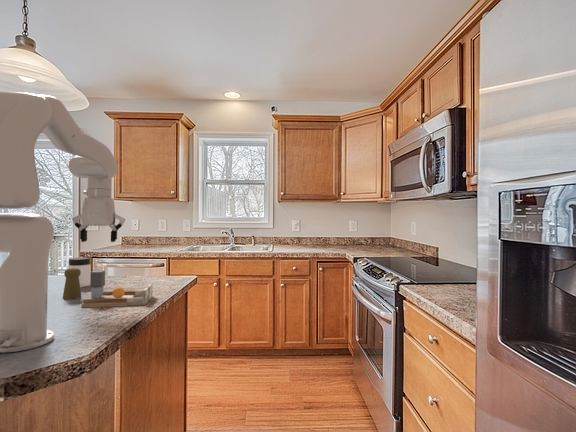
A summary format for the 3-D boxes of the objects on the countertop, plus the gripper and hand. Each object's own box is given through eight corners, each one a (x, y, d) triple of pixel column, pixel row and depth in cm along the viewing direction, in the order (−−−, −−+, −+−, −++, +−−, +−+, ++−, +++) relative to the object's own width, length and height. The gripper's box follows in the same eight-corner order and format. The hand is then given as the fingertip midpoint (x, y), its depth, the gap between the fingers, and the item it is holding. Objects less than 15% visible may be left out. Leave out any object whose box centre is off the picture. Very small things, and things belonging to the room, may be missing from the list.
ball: (122, 299, 120) (122, 288, 120) (110, 299, 119) (110, 288, 119) (125, 296, 124) (126, 285, 124) (114, 296, 123) (114, 286, 123)
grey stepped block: (99, 299, 117) (99, 273, 117) (88, 300, 117) (88, 273, 117) (106, 295, 124) (106, 269, 124) (95, 295, 123) (96, 269, 123)
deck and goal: (144, 305, 117) (144, 291, 117) (81, 307, 113) (81, 292, 113) (152, 296, 131) (153, 283, 131) (97, 297, 127) (97, 284, 127)
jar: (81, 283, 152) (82, 256, 152) (95, 284, 149) (95, 257, 149) (62, 286, 144) (63, 259, 144) (76, 288, 141) (76, 260, 141)
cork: (72, 299, 122) (72, 270, 122) (58, 298, 124) (58, 269, 124) (85, 296, 128) (85, 267, 128) (71, 295, 130) (72, 266, 130)
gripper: (68, 192, 115) (67, 242, 115) (122, 194, 118) (121, 242, 119) (77, 194, 123) (76, 240, 123) (128, 195, 126) (127, 240, 126)
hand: (98, 241), depth 121 cm, fingers open, 9 cm apart
